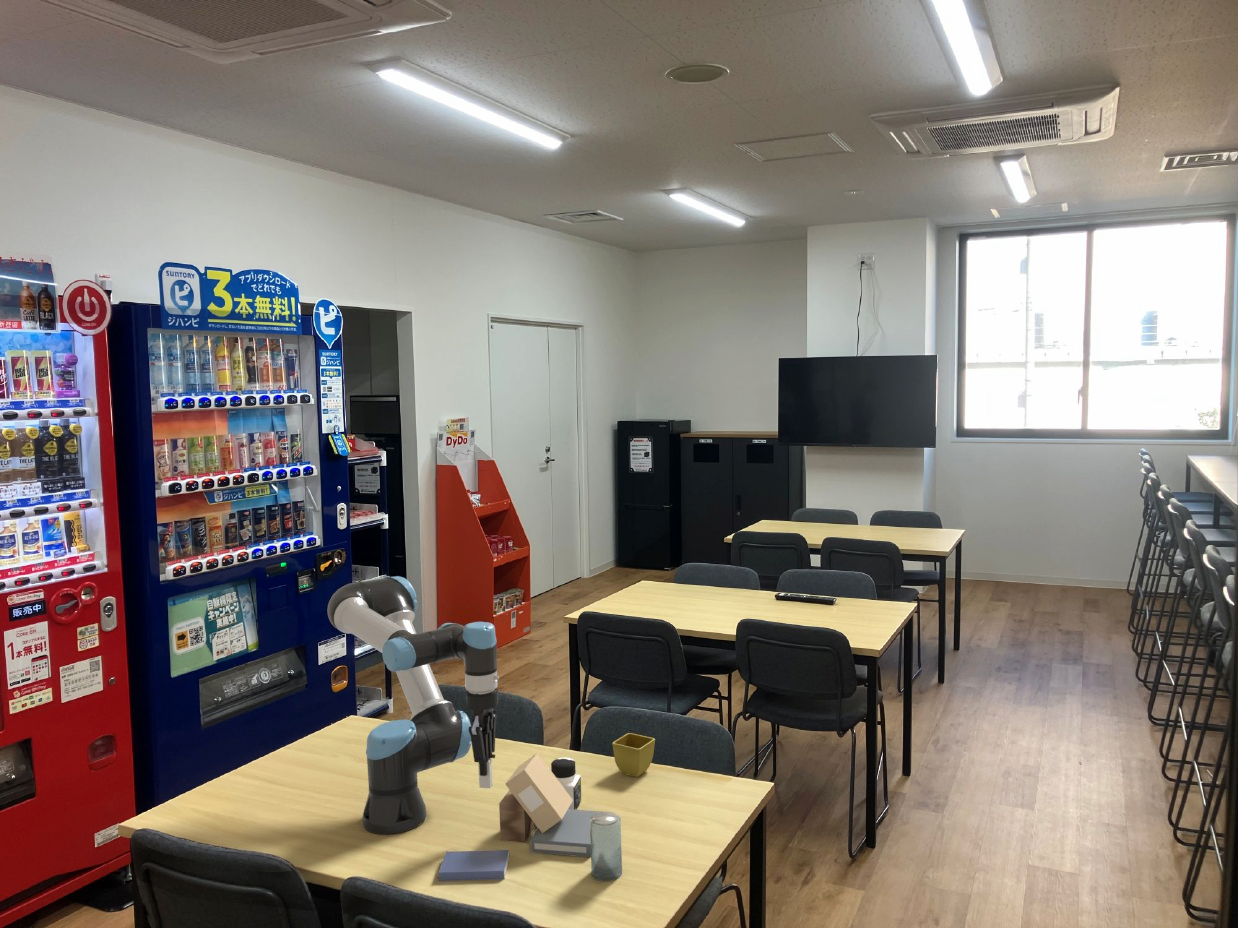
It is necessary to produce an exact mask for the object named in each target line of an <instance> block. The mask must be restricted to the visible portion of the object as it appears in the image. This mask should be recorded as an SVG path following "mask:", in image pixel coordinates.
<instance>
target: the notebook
mask: <svg viewBox="0 0 1238 928" xmlns="http://www.w3.org/2000/svg"><path fill="white" fill-rule="evenodd" d="M509 860H510V849H499V850H498V849H496V850H495V849H494V850H491V849H490V850H463V851H462V850H461V851H460V850H458V851H456V850H455V851H445V853H444V856H443V859H442V862H441V864H440V868H439V870H438V882H453V881H454V882H457V881H484V880H485V881H488V880H490V881H491V880H493V881H494V880H505V877H506V875H507V870H508V865H509Z"/></svg>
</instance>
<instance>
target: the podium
mask: <svg viewBox="0 0 1238 928" xmlns="http://www.w3.org/2000/svg"><path fill="white" fill-rule="evenodd" d="M599 812H603V811H602V810H601V811H600V810H587V809H586V810H583V809H577V810H574V809H568V810H567V811H566V813H565V815H564V817H563V818H562V820H560V821H559V822H558V823H556V824H555V825H553V826H552V827H550V828H549V829H548V830H546V831H545V832H543V833H542V832H541V831H540V830H539V828H538V827H536V830H535V831H534V833H533V834H532V837H530V839H529V840H530V843H529V844H530V853H535V854H536V853H537V854H547V855H560V856H569V857H570V856H572V857H582V858H583V857H585V858H591V840H590V818H591V817H592V816H593V815H595V814H596V813H599Z"/></svg>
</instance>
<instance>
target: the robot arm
mask: <svg viewBox="0 0 1238 928" xmlns="http://www.w3.org/2000/svg"><path fill="white" fill-rule="evenodd" d="M417 609H418V601H417V594H416V591H415V589H414V587H413V585H412V583H411V582H410V581H409V580H408V579H406V578H405V577H402V576H400V575H399V576H398V575H396V576H384V577H382V578H377V579H371V580H365V581H359V582H358V581H357V582H352V583H347V584H345V585H344V586H342V587H340V588H338V589H336V591H335V592H334V593H332V596H331V598H330V600H329V601H328V604H327V609H326V610H327V617H328V619H329V622H330V623H331V625H332V626H333V627H334V628H335V629H337V630H338V631H340V633H344V634H346V635H347V634H351V635H353V636H355V637H356V638H357V639H360V640H361V641H363V642H365V644H367V645H369V646H370V647H372V648H374V649H375V650H377V651H378V652H379V653H381V654H382V660H383V663H384V665H386V668H387V670H388V671H390V672H395V673H396V675H397V679H398V682H399V683H400V686H401V688H402V691H403V693H404V696H405V699H406V701H407V705H409V709H410V711H411V715H410V716H411V717H410V718H409V719H405V718H403V719H398V720H395V719H393V720H390V721H387V722H386V721H385V722H384V723H383V722H382V723H381V724H379V725H378V726H376V727H374V728H373V729H372V730H371V731H370V733H369V734H368V736H367V738H366V750H365V755H366V761H367V763H366V764H367V781H368V782H367V783H368V794H367V798H366V801H365V805H364V809H363V812H362V826H363V828H364V829H365V830H366V831H369V832H370V833H373V834H378V835H379V834H380V835H392V834H399V833H403V832H406V831H407V832H408V831H410V830H412V829H415V828H416V827H419V826H420V825H421V824H423V823H424V822H425V820H426V819H427V807H426V803H425V801H424V798H423V796H422V793H421V791H420V788H419V786H418V784H419V783H418V773H420V772H423V771H426V770H429V769H434V768H436V767H439V766H442V765H446V764H449V763H453V762H455V761H457V760H460V759H462V758H464V757H465V756H467V755H468V753H469V751H470V749H471V747H472V753H473V760H474V763H477V764H478V783H479V784H478V785H479V788H480V789H481V788H482V789H491V788H492V787H493V785H494V783H493V764H492V762H493V761H492V759H495V758H496V754H494V753H495V750H496V728H497V727H496V725H497V716H498V710H497V709H494V708H496V707H497V706H498V705H499V689H498V686H499V685H498V680H499V679H500V676H499V675H498V657H497V656H498V655H497V654H498V653H497V648H498V647H497V636H496V627H495V625H494V624H493V623H491V622H489V621H488V622H487V621H486V622H485V621H474V622H470V623H467V624H465V625H462V624H459V623H456V622H455V623H452V622H446V623H443V624H441V625H440V626H439V627H438V628H437V629H433V630H429V631H423V632H419V633H417V631H416V629H415V627H414V624H413V622H414V620H415V617H416V614H415V613H416V612H417ZM455 658H456V659H459V660H461V661H463V663H464V685H465V686H464V687H465V690H466V692H465V703H466V707H467V708H468V709H470V710H472V711H473V713H472V717H471V720H472V725H471V721H470V718H469V716H468V715H467V713H465V712H464V711H463V710H456V709H455V708H454V707H455V706H454V705H453V703H452V702H451V701H448V700H446V699H444V697H443V694H442V692H441V690H440V687H439V685H438V682H437V680H436V678H435V675H434V673H433V670H432V668H431V666H430V664H434V663H439V662H443V661H446V660H452V659H455Z"/></svg>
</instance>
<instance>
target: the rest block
mask: <svg viewBox="0 0 1238 928" xmlns="http://www.w3.org/2000/svg"><path fill="white" fill-rule="evenodd" d="M498 806H499V807H498V808H499V810H498V811H499V834H500V835H499V837H500V842H508V843H511V842H512V843H522V844H523V843H525V844H526V842H527V841H528V839H529V838H530V836H531V834H532V833H533V832H534V830H535V828H537V826H536V824H535V823H534V822H533V820H532V819H531V818H530V816H529V815H528V814H527V812H526V811H525V810H524V808H523V807H522V806H521V804H520V803H519V802H518V800H517V799H516V798H515V796H514V795H513V794H512V792H511V791H510V790H509V789H508V791H507V792H506V794H505V795H504V797H503V798H502V799H501V801H500V802H499V803H498Z"/></svg>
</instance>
